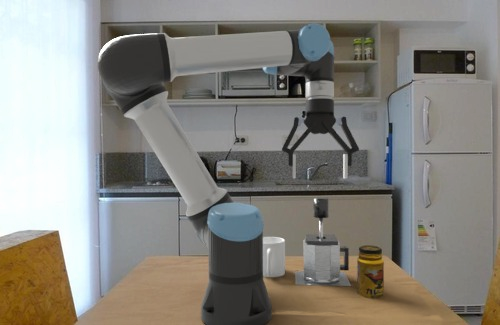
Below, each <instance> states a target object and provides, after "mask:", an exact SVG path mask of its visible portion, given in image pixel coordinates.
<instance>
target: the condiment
mask: <svg viewBox="0 0 500 325" xmlns="http://www.w3.org/2000/svg"><path fill="white" fill-rule="evenodd" d="M382 252H383V250H382V248H381V247H379V246H376V245H369V244H367V245H361V246H359V247H358V258H357V260H356V262H357V263H356V264H357V266H356V268H357V269H356V270H357V277H356V278H357V279H356V280H357V284H356V285H357V292H356V293H357V294H358V295H359V296H361V297H362V298H363V297H364V298H367V299H381V298H383V297H384V295H385V294H384V293H385V286H384V284H385V280H384V279H385V277H384V276H385V275H384V270H385V269H384V267H385V266H384V265H385V262H384V259H383V253H382Z"/></svg>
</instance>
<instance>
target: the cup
mask: <svg viewBox="0 0 500 325" xmlns="http://www.w3.org/2000/svg"><path fill="white" fill-rule="evenodd" d="M285 243H286V240H285V239H284V238H282V237H278V236H263V278H278V277H282V276H285V274H286V244H285Z"/></svg>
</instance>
